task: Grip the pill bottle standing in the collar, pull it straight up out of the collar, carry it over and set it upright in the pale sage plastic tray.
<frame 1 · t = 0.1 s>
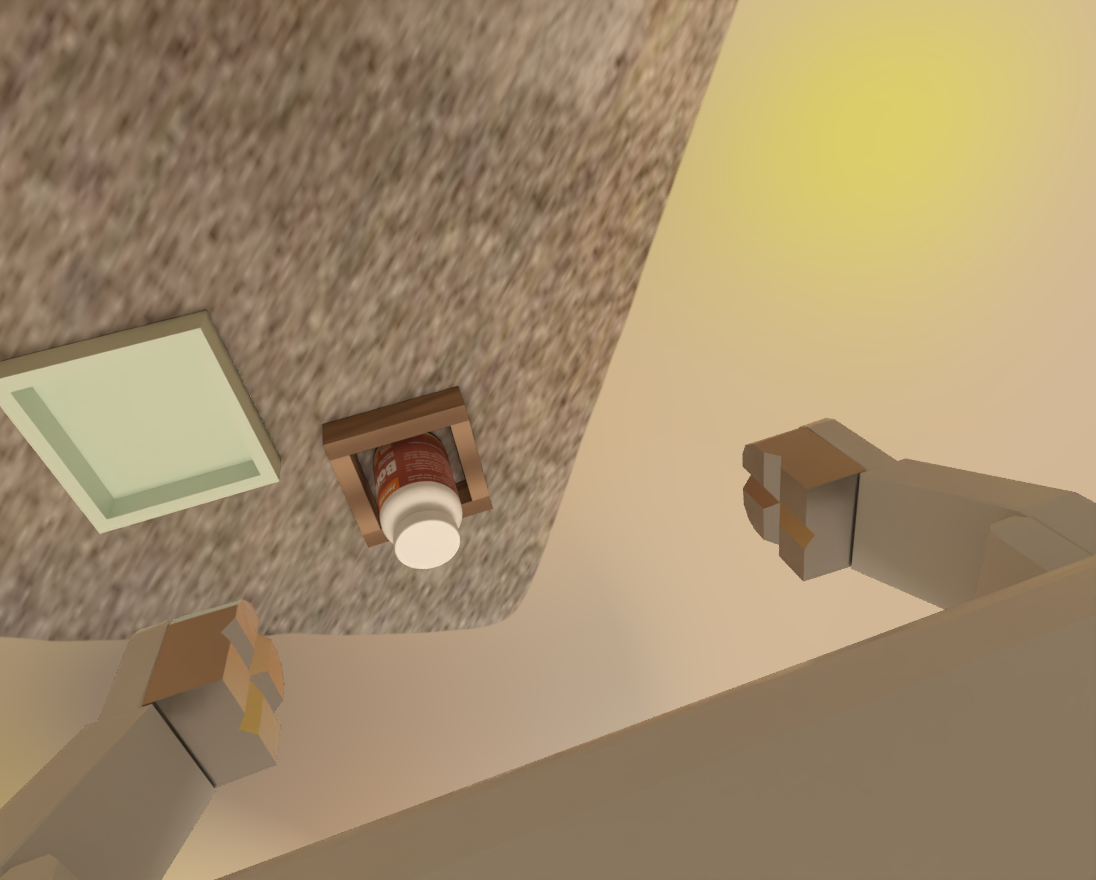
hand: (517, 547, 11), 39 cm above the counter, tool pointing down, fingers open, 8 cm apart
pill bottle: (409, 457, 56), resting in collar
tray: (155, 415, 47), on the counter
collar: (410, 458, 55), on the counter
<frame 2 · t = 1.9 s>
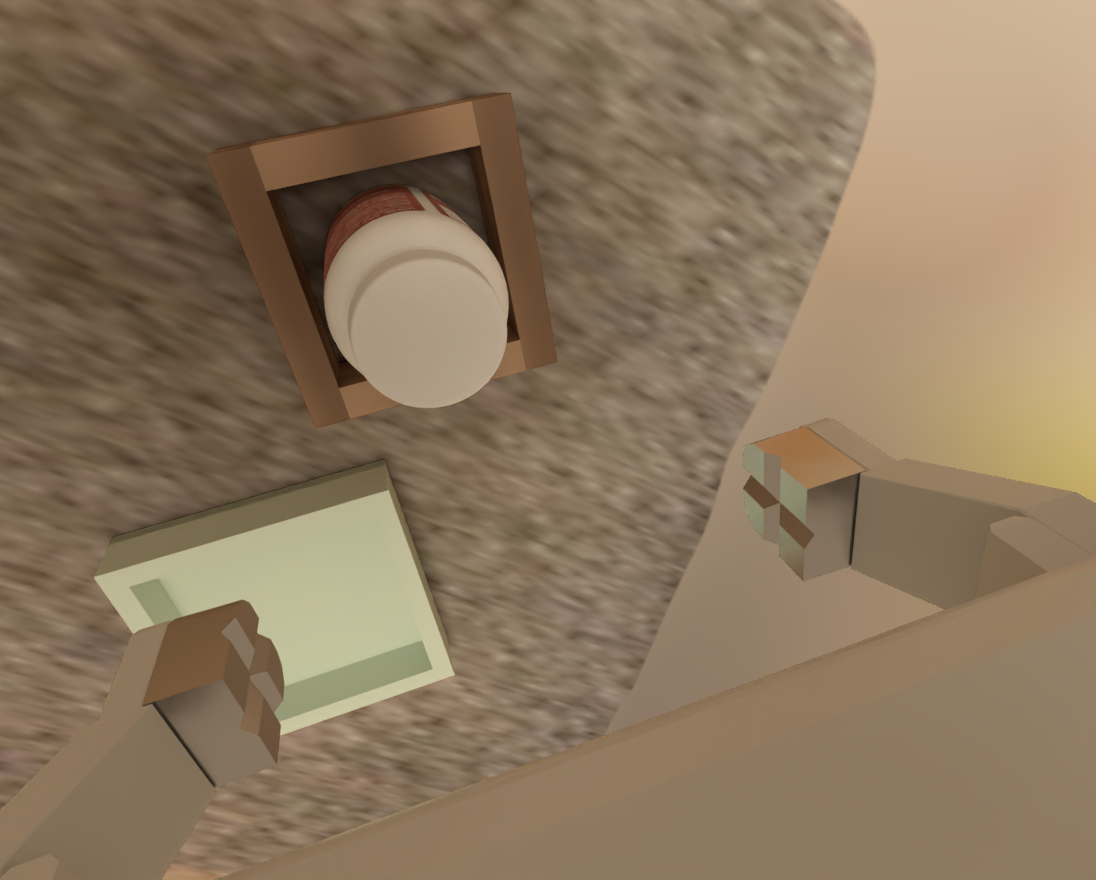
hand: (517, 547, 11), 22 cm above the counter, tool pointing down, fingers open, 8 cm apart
pill bottle: (399, 255, 29), resting in collar
tray: (300, 593, 35), on the counter
collar: (399, 256, 29), on the counter
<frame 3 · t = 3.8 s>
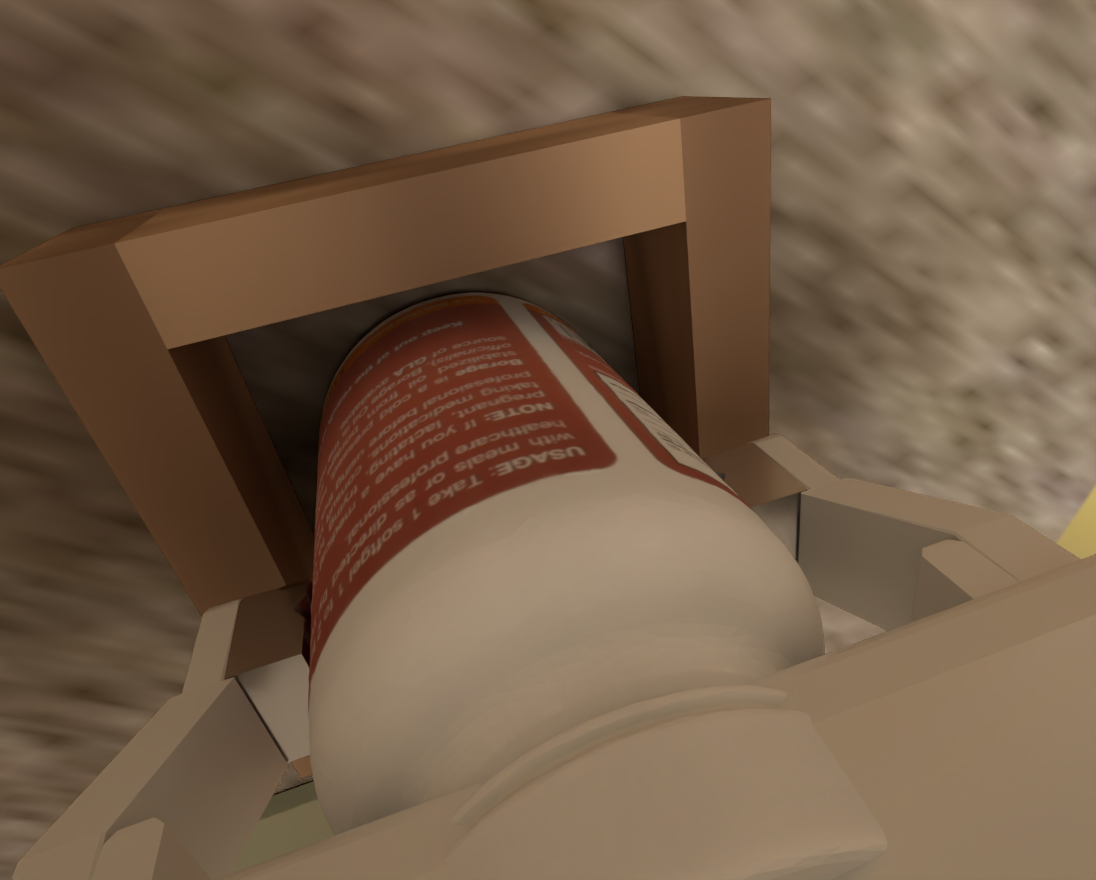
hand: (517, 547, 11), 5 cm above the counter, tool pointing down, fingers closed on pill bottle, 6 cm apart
pill bottle: (468, 418, 15), resting in collar, touching gripper
collar: (469, 422, 14), on the counter
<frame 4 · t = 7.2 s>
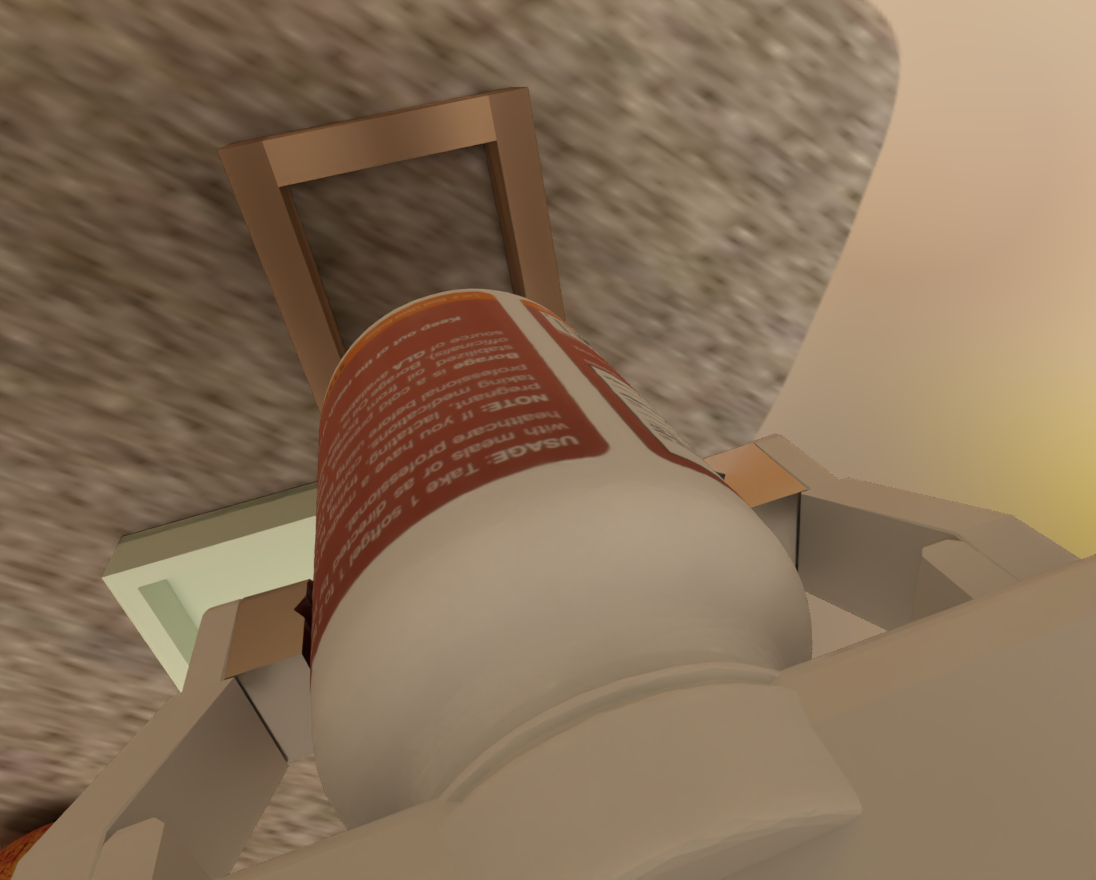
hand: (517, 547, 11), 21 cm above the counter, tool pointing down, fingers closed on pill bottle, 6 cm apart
pill bottle: (466, 413, 15), point 16 cm above the counter, touching gripper
apple: (74, 833, 39), on the counter
tray: (309, 594, 35), on the counter
collar: (412, 254, 28), on the counter
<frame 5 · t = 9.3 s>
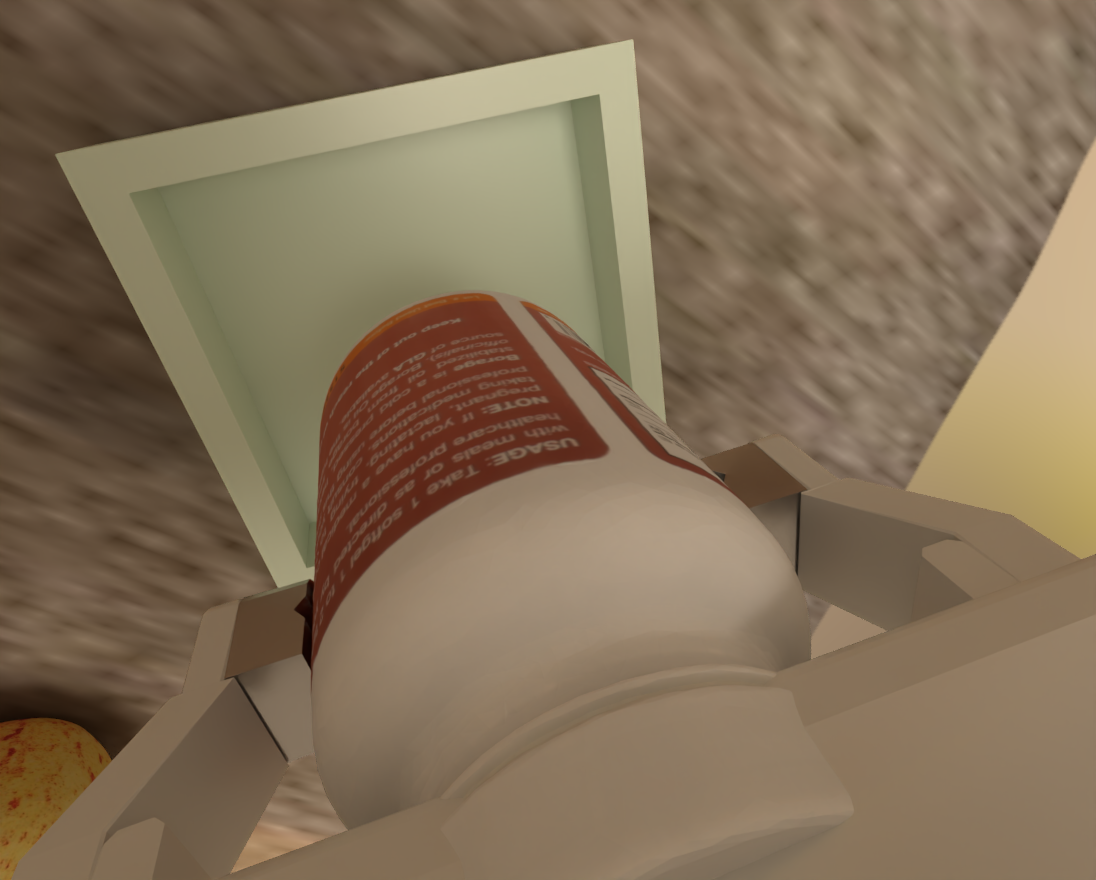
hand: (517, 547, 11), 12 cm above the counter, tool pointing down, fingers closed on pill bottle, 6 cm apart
pill bottle: (466, 414, 15), point 7 cm above the counter, touching gripper
apple: (29, 751, 24), on the counter
tray: (424, 323, 20), on the counter
when the fingers open (7 cm above the counter, at t = 10.9 s): pill bottle drops 1 cm, resting on tray.
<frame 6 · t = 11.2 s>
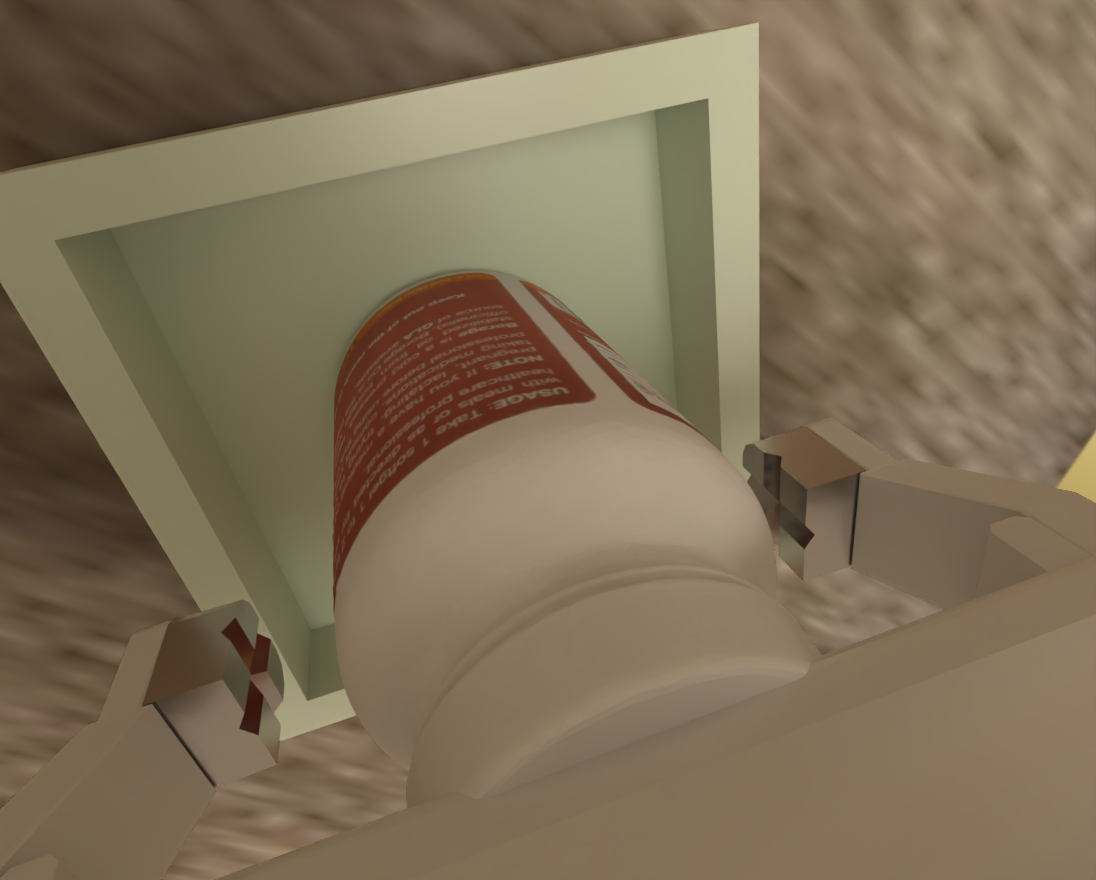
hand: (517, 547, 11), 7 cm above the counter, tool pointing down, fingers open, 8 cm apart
pill bottle: (469, 389, 16), resting on tray
tray: (457, 387, 16), on the counter
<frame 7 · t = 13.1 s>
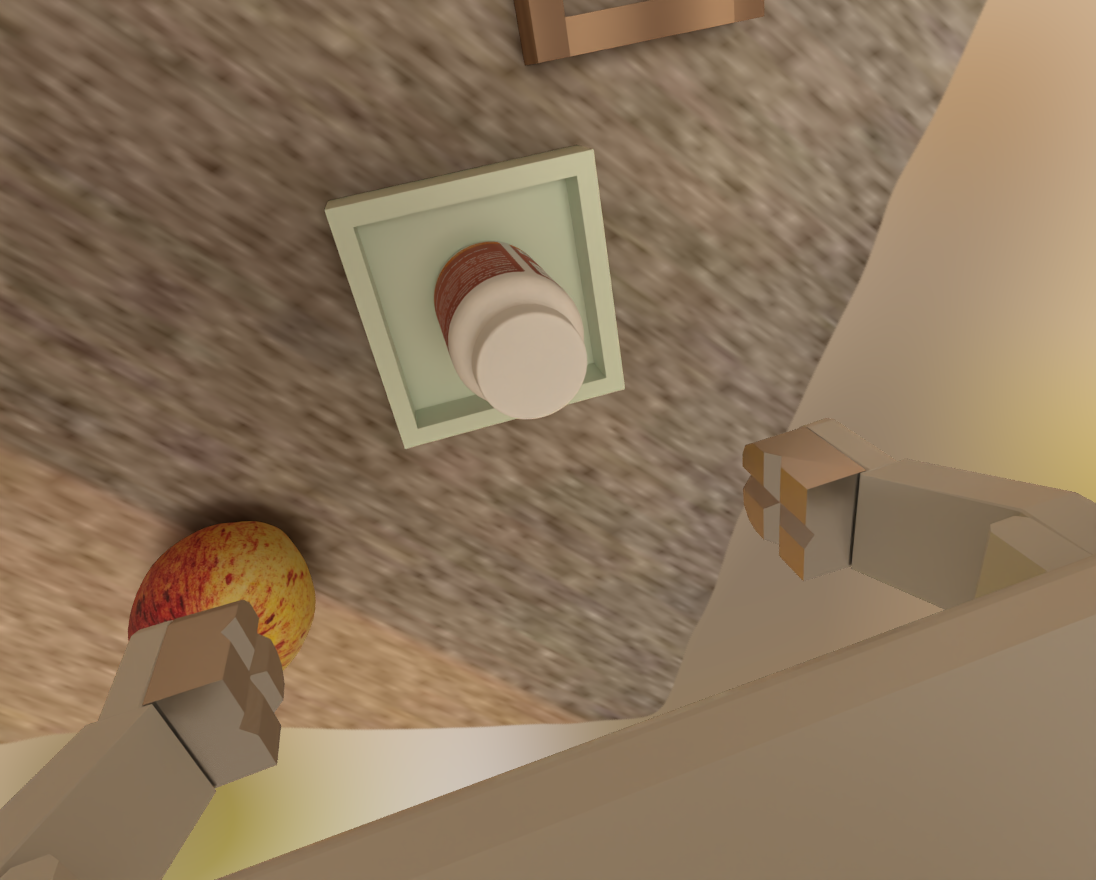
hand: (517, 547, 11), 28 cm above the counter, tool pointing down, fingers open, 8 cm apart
pill bottle: (489, 294, 36), resting on tray
apple: (246, 548, 41), on the counter
tray: (483, 294, 37), on the counter
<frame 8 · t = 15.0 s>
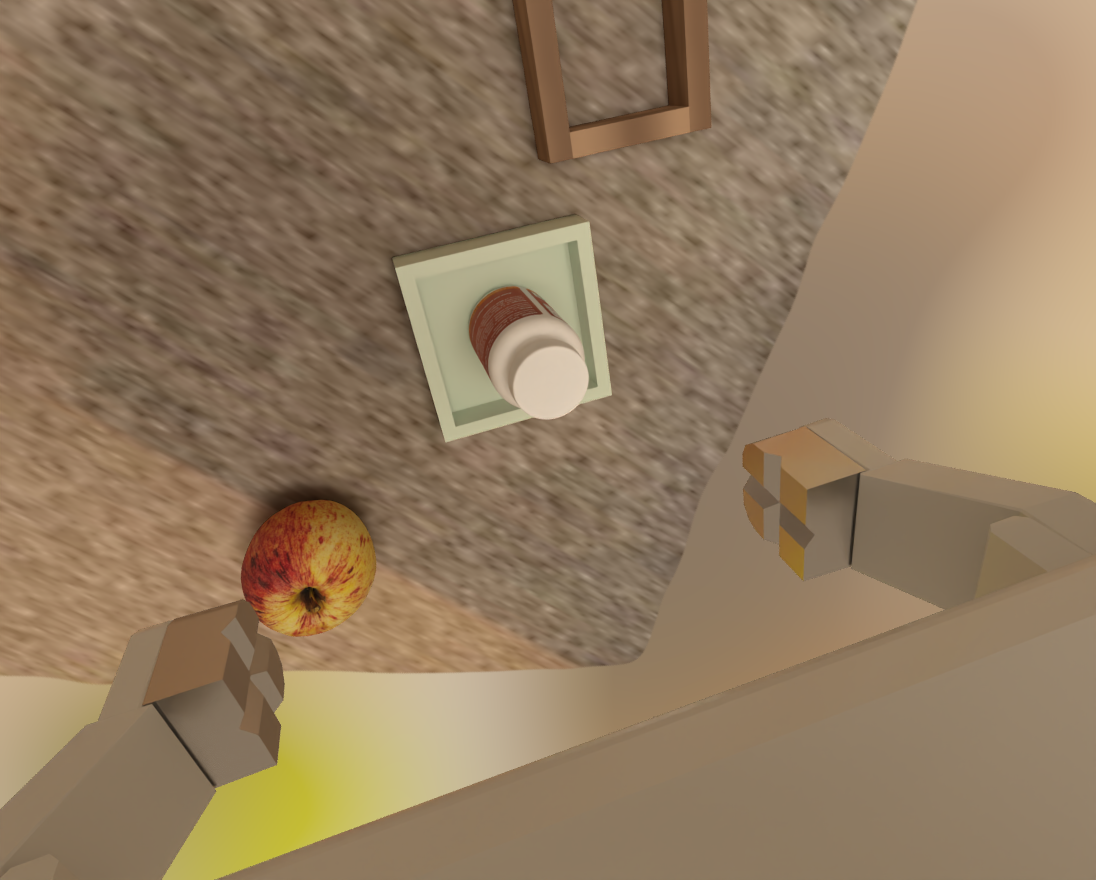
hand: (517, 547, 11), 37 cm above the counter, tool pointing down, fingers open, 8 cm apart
pill bottle: (508, 324, 48), resting on tray
apple: (315, 522, 52), on the counter
tray: (504, 324, 48), on the counter
collar: (606, 48, 41), on the counter
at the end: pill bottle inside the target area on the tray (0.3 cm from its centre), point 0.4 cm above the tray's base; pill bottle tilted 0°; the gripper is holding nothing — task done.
